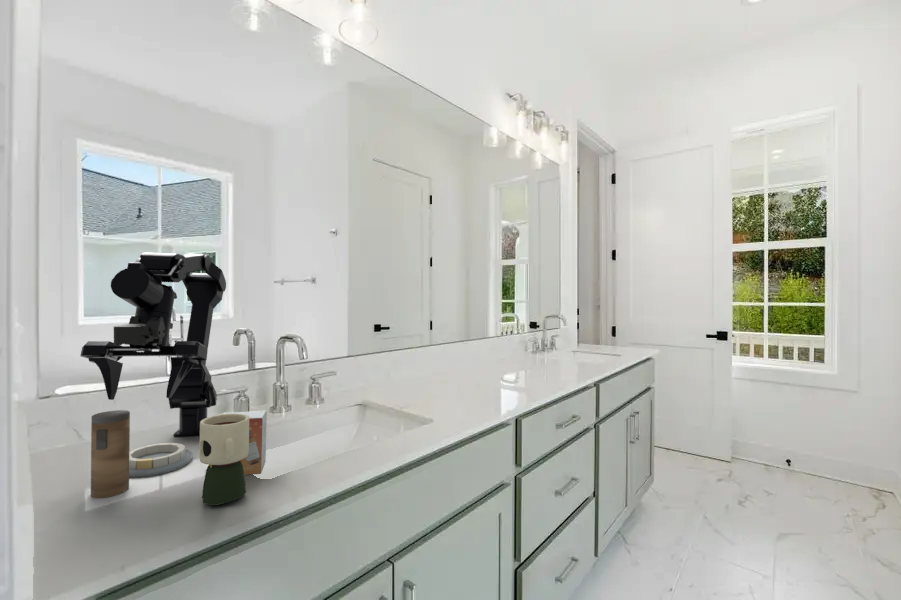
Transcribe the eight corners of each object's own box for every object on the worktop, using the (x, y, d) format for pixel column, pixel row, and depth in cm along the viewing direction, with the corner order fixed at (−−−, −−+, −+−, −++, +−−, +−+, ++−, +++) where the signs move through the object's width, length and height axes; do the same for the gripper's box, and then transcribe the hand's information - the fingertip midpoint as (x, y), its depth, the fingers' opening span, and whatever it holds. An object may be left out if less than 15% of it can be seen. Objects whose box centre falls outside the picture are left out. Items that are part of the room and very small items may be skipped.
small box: (213, 478, 78) (214, 419, 77) (221, 466, 83) (222, 411, 83) (262, 474, 80) (262, 417, 80) (266, 462, 85) (267, 409, 85)
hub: (134, 455, 88) (134, 442, 88) (199, 451, 90) (200, 439, 90) (102, 480, 76) (102, 465, 76) (178, 474, 79) (178, 460, 79)
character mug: (195, 492, 72) (196, 414, 72) (242, 482, 76) (243, 408, 76) (202, 520, 63) (203, 431, 63) (254, 507, 67) (256, 424, 67)
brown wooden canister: (100, 485, 74) (101, 410, 74) (134, 483, 75) (135, 409, 75) (81, 501, 68) (82, 420, 68) (118, 498, 69) (119, 418, 69)
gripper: (70, 301, 73) (49, 396, 68) (192, 303, 77) (180, 393, 72) (106, 318, 83) (90, 401, 79) (212, 319, 87) (202, 398, 82)
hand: (140, 398), depth 78 cm, fingers open, 9 cm apart
